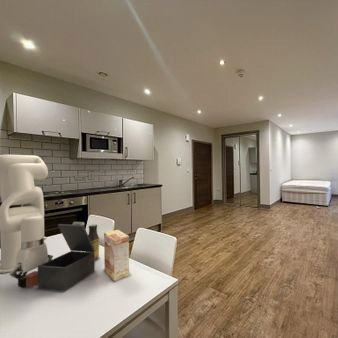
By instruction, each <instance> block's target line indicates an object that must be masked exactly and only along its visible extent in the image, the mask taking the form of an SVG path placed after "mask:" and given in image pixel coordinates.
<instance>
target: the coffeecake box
mask: <svg viewBox="0 0 338 338" xmlns="http://www.w3.org/2000/svg"><path fill="white" fill-rule="evenodd" d="M129 239H130V236H129V235H128V234H126V233H124V232H123V231H121V230H120V229H115V230H109V231H104V232H103V244H104V245H103V246H104V247H103V250H104V251H103V253H104V255H103V256H104V257H103V259H104V272H106V274H107V275H108V276H109V277H110V278H111V280H113V281H114V282H116V281H119V280H120V279H123V278H127V277H129V276H130V240H129Z"/></svg>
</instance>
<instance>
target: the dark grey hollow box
mask: <svg viewBox="0 0 338 338" xmlns="http://www.w3.org/2000/svg"><path fill="white" fill-rule="evenodd" d="M95 262H96V260H95V253H94V252H84V251H71V250H70V251H68V252H66V253H64V254H62V255H59V256H57V257H55V258H52V260H50V261H48V262H46V263H44V264H41V265H39V266H38V267H37V271H38V284H37V289H39V290H48V291H49V290H50V291H59V292H66V291H68V290H69V289H71V288H72V287H74V286H75V285H77V284H78V283H80V282H81V281H83V280H84V279H86V278H88V277H90V276H91V275H92V274H94V273H95V271H96V269H95V267H96V266H95V265H96V264H95Z"/></svg>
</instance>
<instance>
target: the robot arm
mask: <svg viewBox="0 0 338 338" xmlns="http://www.w3.org/2000/svg"><path fill="white" fill-rule="evenodd" d="M48 176H49V169H48V166H47V165H46V163H45V161H44V160H43V159H42V157H40V156H38V155H33V154H32V155H30V154H10V153H9V154H6V153H5V154H0V200H1V204H0V274H7V273H8V275H9V276H10V277H12V278H14V279H16V280H17V287H18V288H23V289H24V288H26V287H27V286H26V278H25V276H26V275H27V274H28V272H30V271H32V270H34V269H38V266H39V265H41V264H44V263H46V262H48V261H50V260H53V259H54V258H53V257H54V255H52V254H49V252H48V247H47V246H48V245H47V244H46V242H45V240H46V239H47V236H45V202H44V201H45V199H44V193H43V190H42V188H41V187H40V186H36V185H35V180H44V179H46V178H47V177H48ZM27 204H30V205H27ZM18 205H24V206H18ZM25 205H27V206H25ZM11 206H16V207H11Z"/></svg>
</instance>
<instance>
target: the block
mask: <svg viewBox="0 0 338 338" xmlns="http://www.w3.org/2000/svg"><path fill="white" fill-rule="evenodd" d="M25 278H26V287H30V288H32V287H34V286H36V285H38V270H33V271H32V272H30V273H27V274H26V276H25Z"/></svg>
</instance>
